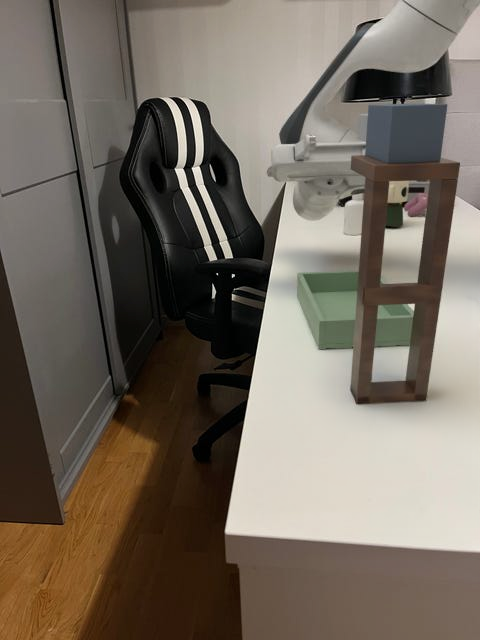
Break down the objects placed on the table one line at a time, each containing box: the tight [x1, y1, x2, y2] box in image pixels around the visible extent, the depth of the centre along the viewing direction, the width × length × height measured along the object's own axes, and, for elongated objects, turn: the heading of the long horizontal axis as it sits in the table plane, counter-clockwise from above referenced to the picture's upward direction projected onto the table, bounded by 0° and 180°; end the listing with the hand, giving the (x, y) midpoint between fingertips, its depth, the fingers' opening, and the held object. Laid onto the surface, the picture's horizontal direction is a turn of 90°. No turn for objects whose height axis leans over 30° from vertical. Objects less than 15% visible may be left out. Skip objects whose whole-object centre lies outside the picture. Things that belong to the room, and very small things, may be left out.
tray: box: [296, 269, 414, 350], centre depth 78 cm, size 14×21×4 cm, turn 2°
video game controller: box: [403, 193, 428, 217], centre depth 144 cm, size 10×5×7 cm, turn 170°
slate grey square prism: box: [356, 103, 448, 164], centre depth 53 cm, size 5×16×5 cm, turn 2°
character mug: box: [385, 181, 409, 228], centre depth 130 cm, size 11×7×13 cm, turn 157°
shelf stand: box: [349, 155, 461, 405], centre depth 55 cm, size 8×9×26 cm
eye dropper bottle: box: [342, 193, 364, 236], centre depth 124 cm, size 4×6×12 cm
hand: (342, 138), depth 74 cm, fingers open, 8 cm apart
